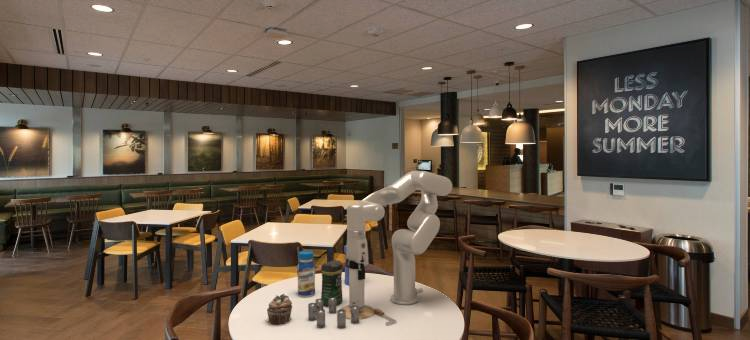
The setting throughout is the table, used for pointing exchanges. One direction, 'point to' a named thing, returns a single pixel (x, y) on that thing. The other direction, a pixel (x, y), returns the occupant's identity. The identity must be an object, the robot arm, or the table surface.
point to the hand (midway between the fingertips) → (356, 277)
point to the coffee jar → (331, 281)
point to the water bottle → (346, 268)
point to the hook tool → (385, 316)
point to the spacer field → (319, 313)
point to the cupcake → (279, 310)
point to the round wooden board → (360, 312)
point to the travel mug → (355, 286)
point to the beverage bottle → (306, 274)
